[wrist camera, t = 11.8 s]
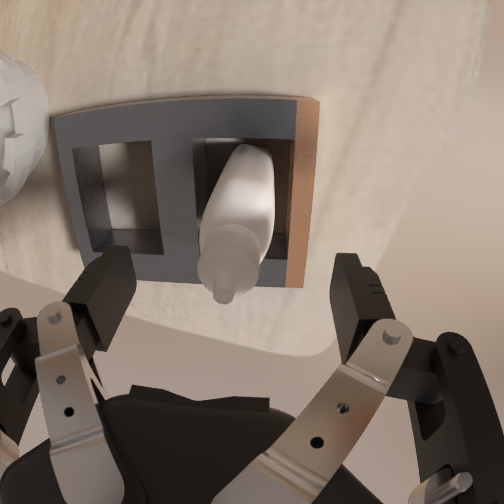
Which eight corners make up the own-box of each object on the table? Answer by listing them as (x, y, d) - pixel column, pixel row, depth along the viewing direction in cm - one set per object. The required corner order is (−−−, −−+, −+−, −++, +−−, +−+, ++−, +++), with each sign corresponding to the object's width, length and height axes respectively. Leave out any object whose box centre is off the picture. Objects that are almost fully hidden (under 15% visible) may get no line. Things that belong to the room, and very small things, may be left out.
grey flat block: (80, 109, 19) (53, 117, 16) (311, 97, 18) (319, 101, 15) (105, 252, 25) (86, 276, 22) (299, 260, 24) (302, 288, 21)
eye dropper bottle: (196, 191, 22) (134, 303, 12) (250, 132, 20) (226, 201, 9) (242, 229, 23) (221, 360, 13) (298, 176, 21) (325, 285, 11)
